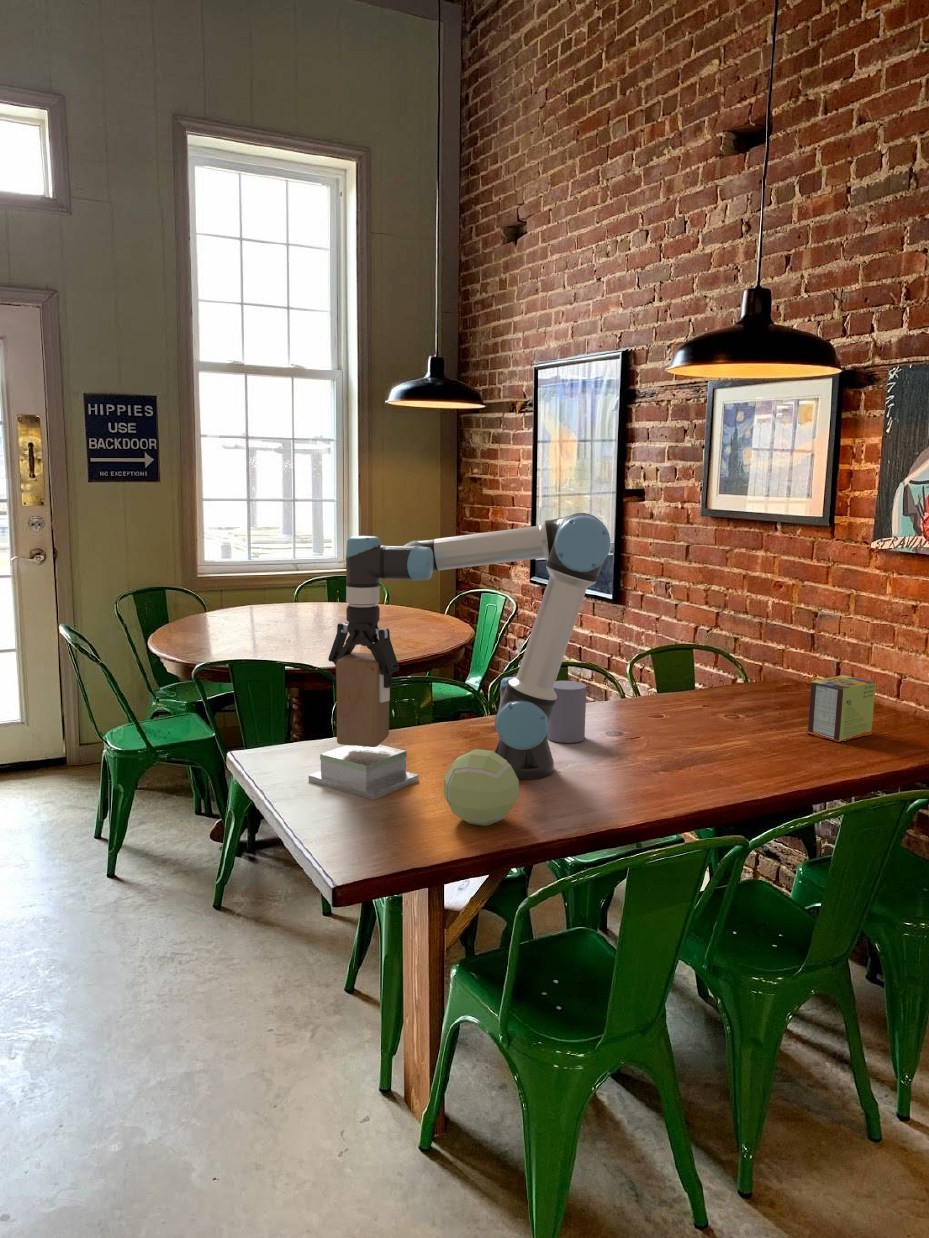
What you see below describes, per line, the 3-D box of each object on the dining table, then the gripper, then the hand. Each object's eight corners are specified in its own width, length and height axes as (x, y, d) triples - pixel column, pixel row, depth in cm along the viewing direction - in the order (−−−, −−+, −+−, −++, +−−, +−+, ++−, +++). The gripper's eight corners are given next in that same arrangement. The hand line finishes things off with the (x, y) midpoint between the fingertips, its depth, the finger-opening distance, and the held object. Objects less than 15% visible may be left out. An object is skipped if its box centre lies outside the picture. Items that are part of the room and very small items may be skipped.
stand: (418, 780, 219) (418, 752, 218) (373, 800, 206) (373, 769, 205) (355, 764, 231) (354, 736, 229) (308, 781, 218) (308, 752, 217)
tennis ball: (456, 805, 204) (457, 739, 201) (523, 813, 200) (525, 745, 197) (435, 830, 190) (435, 759, 187) (506, 839, 185) (508, 767, 183)
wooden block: (377, 748, 211) (377, 662, 208) (335, 745, 213) (334, 659, 210) (390, 736, 221) (390, 653, 217) (349, 733, 223) (349, 651, 219)
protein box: (872, 735, 262) (876, 681, 260) (839, 743, 254) (843, 688, 251) (839, 726, 271) (843, 674, 268) (806, 734, 262) (810, 680, 260)
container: (541, 741, 252) (543, 687, 250) (552, 731, 262) (554, 679, 259) (578, 745, 249) (580, 691, 246) (588, 735, 258) (590, 682, 256)
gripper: (415, 608, 208) (414, 702, 211) (335, 597, 222) (335, 686, 225) (393, 611, 202) (393, 708, 205) (312, 601, 216) (313, 691, 219)
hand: (363, 696), depth 215 cm, fingers closed on wooden block, 12 cm apart
